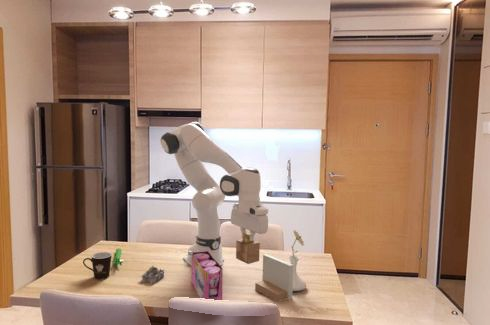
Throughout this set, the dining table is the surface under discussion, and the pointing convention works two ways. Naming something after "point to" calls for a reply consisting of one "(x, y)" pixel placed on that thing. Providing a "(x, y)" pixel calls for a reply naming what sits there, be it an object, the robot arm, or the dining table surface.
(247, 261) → the wooden block
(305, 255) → the dining table surface
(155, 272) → the grey jagged rock
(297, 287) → the flower in vase
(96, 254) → the coffee mug
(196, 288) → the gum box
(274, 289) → the bookend
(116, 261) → the green onion
